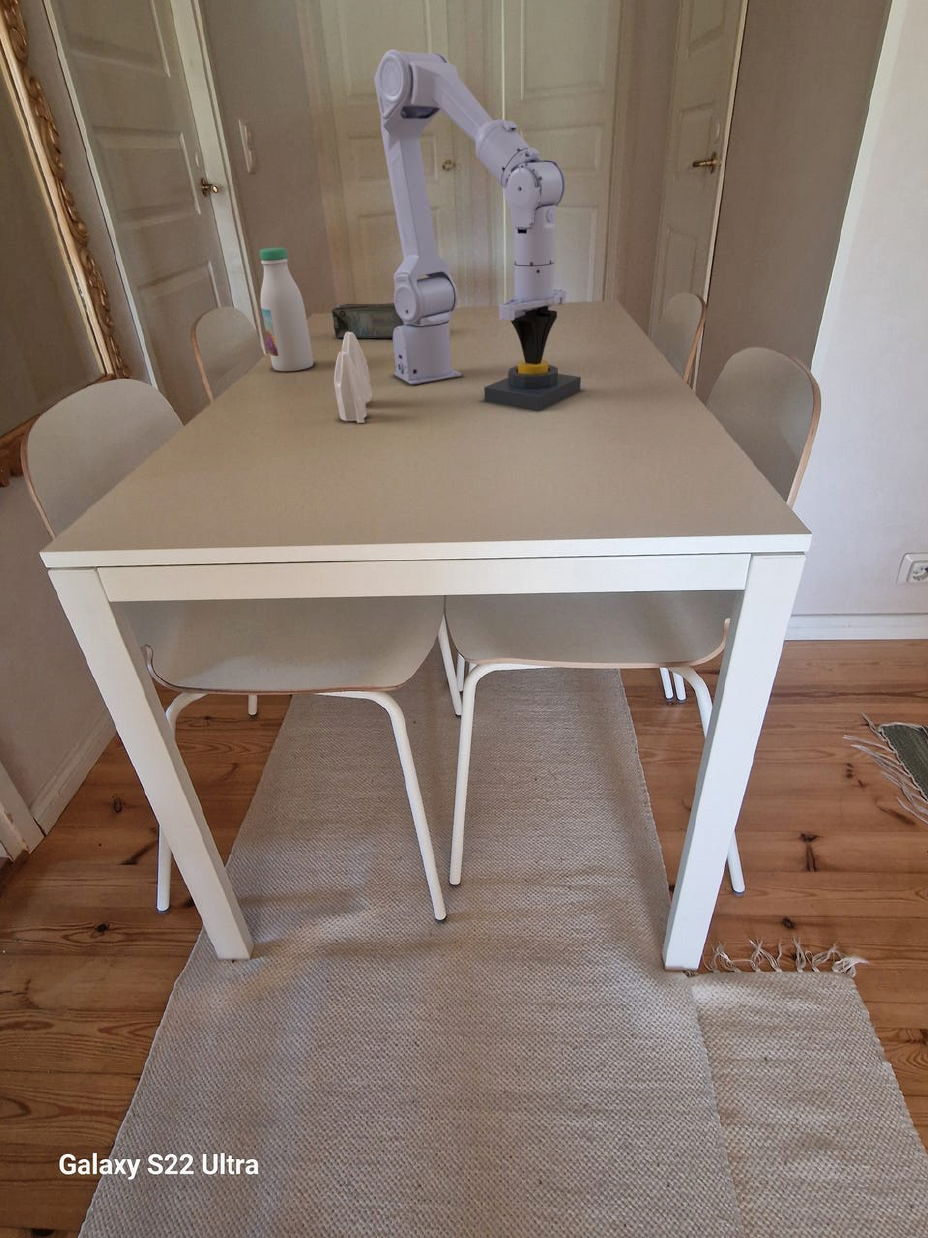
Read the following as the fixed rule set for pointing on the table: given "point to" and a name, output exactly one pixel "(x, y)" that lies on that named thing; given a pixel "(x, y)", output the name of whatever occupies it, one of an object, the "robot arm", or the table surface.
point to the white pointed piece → (352, 381)
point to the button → (533, 367)
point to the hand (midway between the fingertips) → (533, 362)
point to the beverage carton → (366, 320)
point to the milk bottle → (284, 314)
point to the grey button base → (532, 389)
